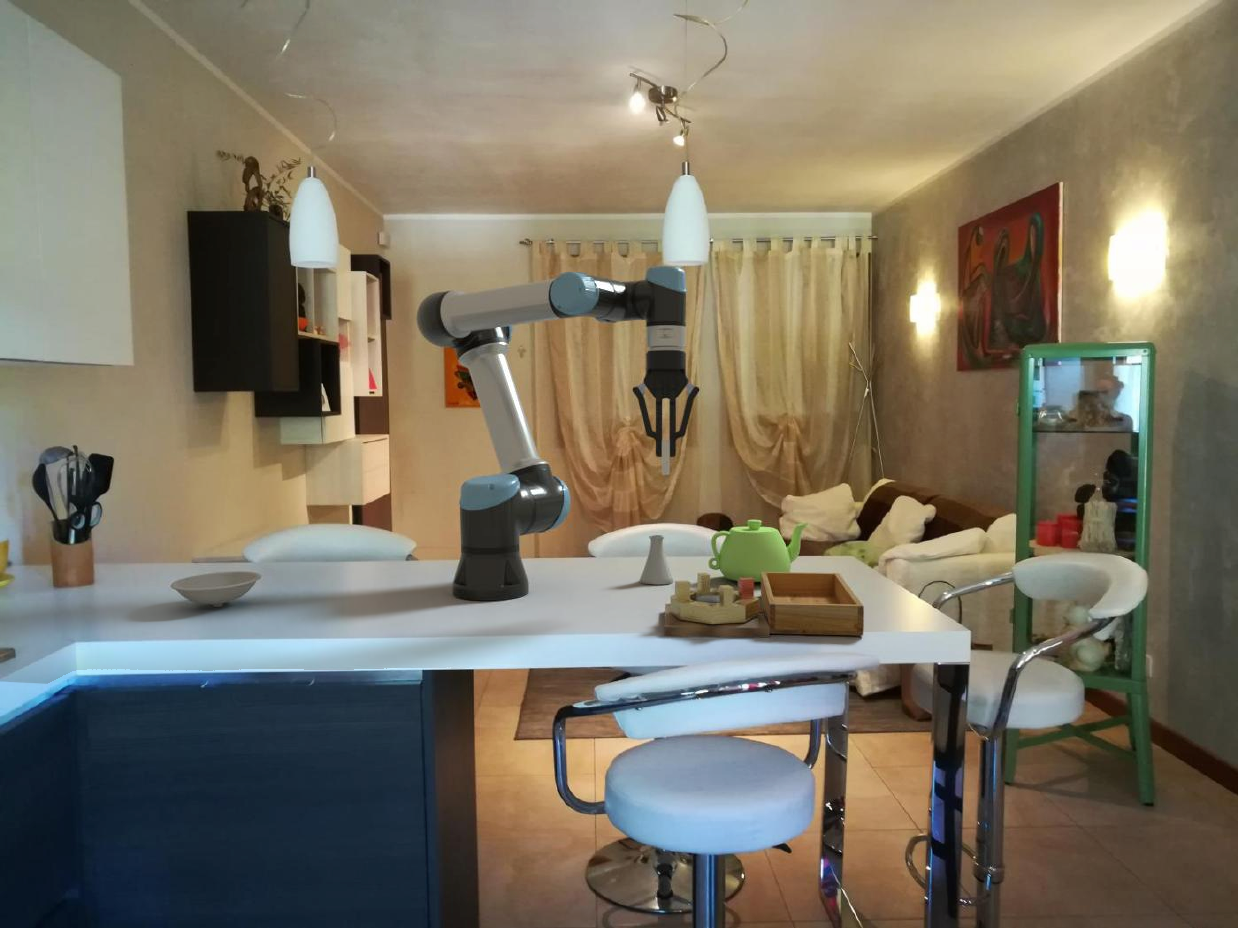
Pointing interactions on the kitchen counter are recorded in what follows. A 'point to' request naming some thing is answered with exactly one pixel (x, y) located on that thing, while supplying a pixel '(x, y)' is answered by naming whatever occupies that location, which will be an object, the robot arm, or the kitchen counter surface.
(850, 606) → the tray
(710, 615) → the ring nut
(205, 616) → the kitchen counter surface
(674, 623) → the walnut base
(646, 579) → the flask
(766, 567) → the teapot
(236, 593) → the dish
